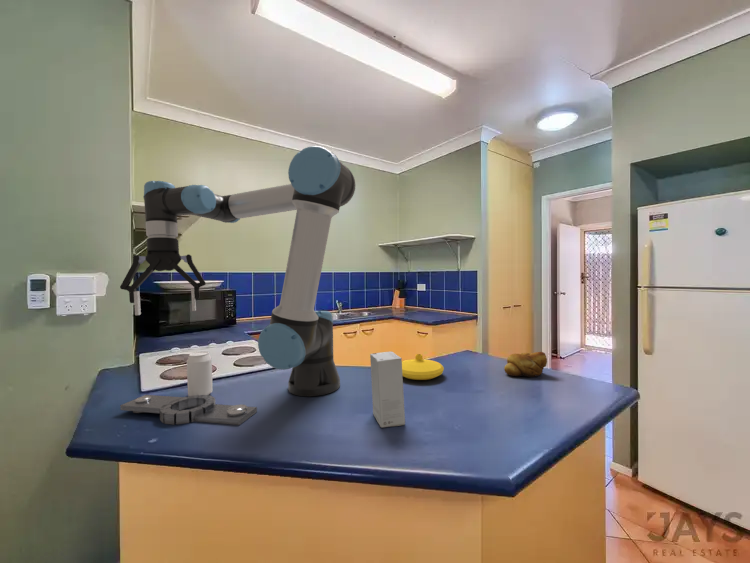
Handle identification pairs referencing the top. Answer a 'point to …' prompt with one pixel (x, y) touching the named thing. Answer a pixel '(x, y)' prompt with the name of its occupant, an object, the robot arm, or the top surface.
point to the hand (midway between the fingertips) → (167, 312)
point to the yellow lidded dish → (421, 368)
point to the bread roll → (526, 364)
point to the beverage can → (199, 374)
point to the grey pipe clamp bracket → (202, 412)
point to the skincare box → (387, 389)
